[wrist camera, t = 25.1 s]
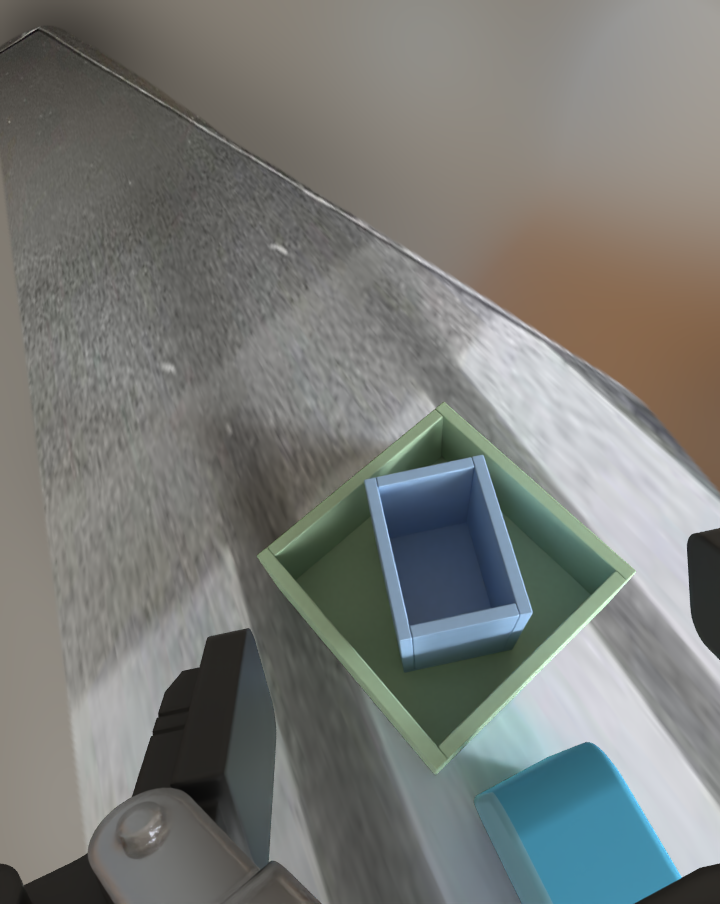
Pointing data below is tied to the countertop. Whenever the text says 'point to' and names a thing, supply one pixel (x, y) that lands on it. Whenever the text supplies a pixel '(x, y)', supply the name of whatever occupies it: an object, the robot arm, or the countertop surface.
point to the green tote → (367, 607)
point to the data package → (574, 833)
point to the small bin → (447, 563)
